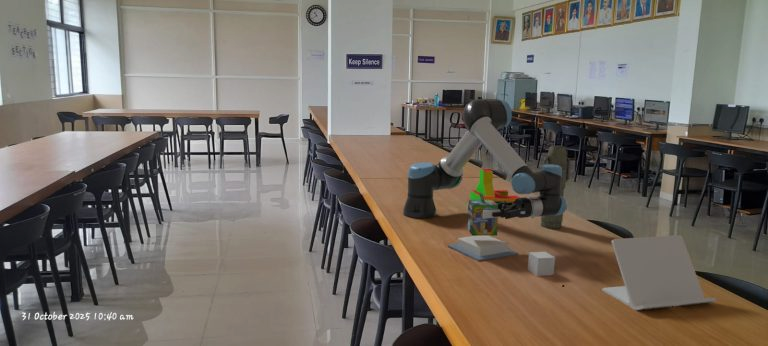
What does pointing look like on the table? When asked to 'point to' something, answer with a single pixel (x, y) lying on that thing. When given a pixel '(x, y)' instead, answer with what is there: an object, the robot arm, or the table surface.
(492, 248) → the base block
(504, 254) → the board
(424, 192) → the robot arm
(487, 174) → the building blocks toy
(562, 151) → the dark piece
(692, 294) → the tablet stand
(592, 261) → the table surface
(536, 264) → the white cube
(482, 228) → the chalk box
